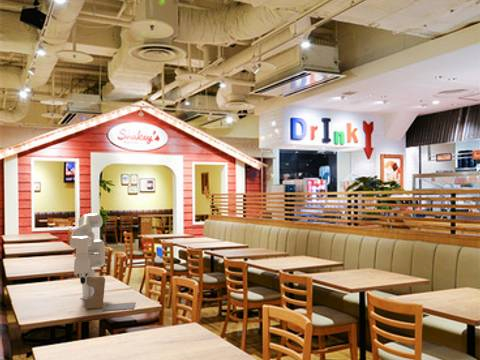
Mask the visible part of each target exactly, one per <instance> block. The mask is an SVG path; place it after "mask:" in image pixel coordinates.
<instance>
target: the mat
mask: <svg viewBox="0 0 480 360" xmlns="http://www.w3.org/2000/svg"><path fill="white" fill-rule="evenodd" d="M135 306H136V301H134V302H133V301H132V302H122V303H118V302H117V303H106V304H104V305H103V308H102V310H101V311H102V312H110V311H124V310H125V311H126V310H134V309H135Z"/></svg>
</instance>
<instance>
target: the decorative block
mask: <svg viewBox="0 0 480 360" xmlns="http://www.w3.org/2000/svg"><path fill="white" fill-rule="evenodd" d="M86 284H87V285H88V286H91V287H93V288H94V294H93V296H92V297H90V298H89V299H84V308H85V309H86V310H91V309H103V308H104V298H105V297H104V296H105V288H106V287H105V285H106V278H105V277H104V276H96V277H87V282H86Z"/></svg>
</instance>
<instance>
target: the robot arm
mask: <svg viewBox="0 0 480 360" xmlns="http://www.w3.org/2000/svg"><path fill="white" fill-rule="evenodd" d="M103 224H104V222H103V217H102V215H101V214H99V213H88V214H87V213H84V214H82V215H81V216H80V217H79V219H78V227H76V228H75V229H74V230H73V231H72V232H71V234H70V239H69V245H70V248H72V249H75V254H74V255H73V257H75V258H74V261H73V262H74V264H73V273H74V274H73V276H77V277H78V278H79V279H80V281H79V282H80V284H81V285H82V286H81V287H82V295H81V296H80V299H81V300H86V299H89V298H90V297H92V296H93V294H94V288H93V287H91V286H88V285H87V284H86V282H87V277H97V275H96V271H95V270H94V269H93V268H101V267H104V266H105V264H106V247H105V246H106V245H105V242H104V240H103V239H95V233H94V231H93V230H92V228H93V229H95V228H101V227H102V226H103Z"/></svg>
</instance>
